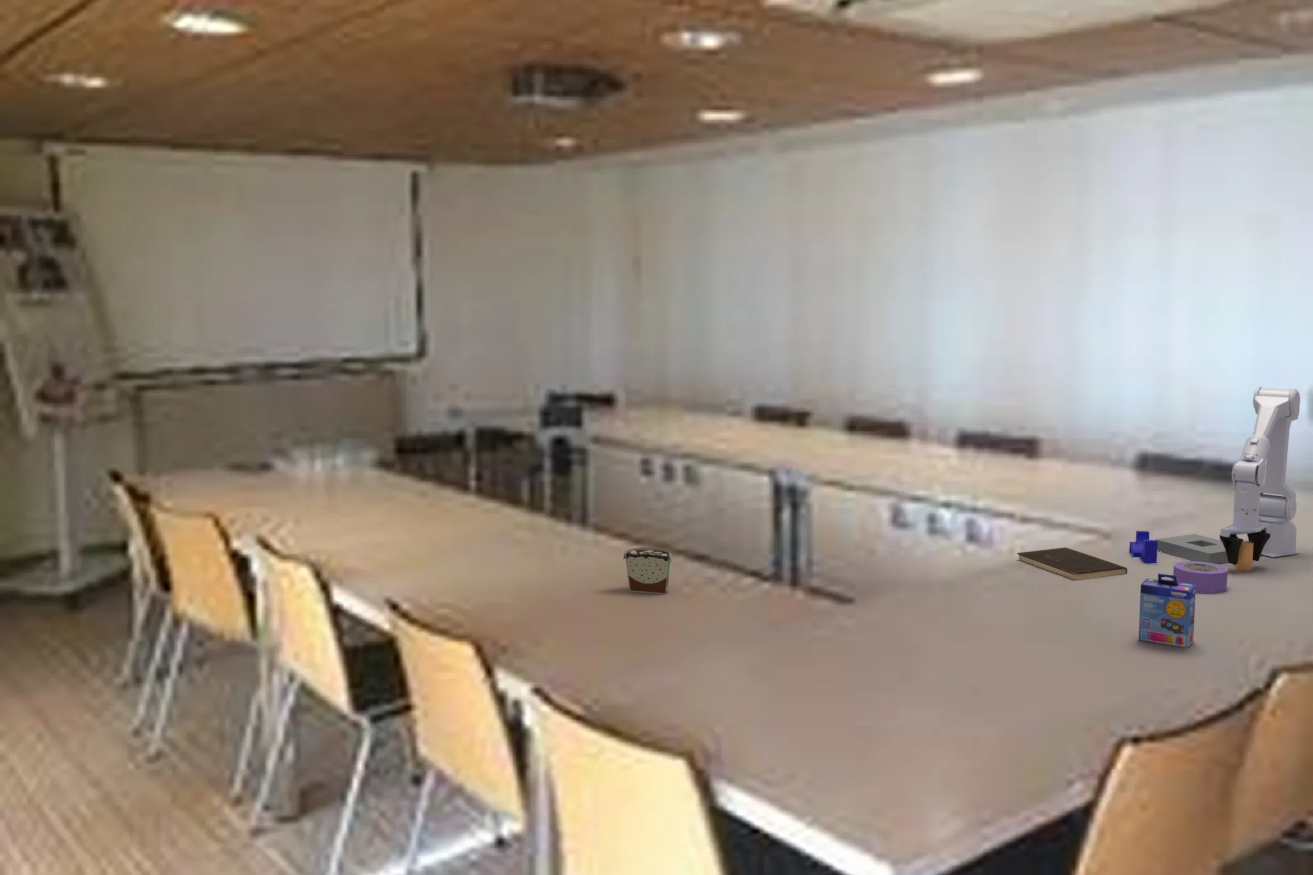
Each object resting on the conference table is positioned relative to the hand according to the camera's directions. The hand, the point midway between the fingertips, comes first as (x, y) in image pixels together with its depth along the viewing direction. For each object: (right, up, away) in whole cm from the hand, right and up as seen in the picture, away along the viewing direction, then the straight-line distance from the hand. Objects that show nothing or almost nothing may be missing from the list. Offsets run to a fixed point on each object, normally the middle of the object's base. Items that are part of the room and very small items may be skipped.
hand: (1243, 562), depth 306 cm
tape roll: (-18, -5, -15) cm, 23 cm away
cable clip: (-20, -1, +14) cm, 24 cm away
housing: (-3, 0, +16) cm, 16 cm away
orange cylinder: (0, -2, 0) cm, 2 cm away
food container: (-148, -6, -9) cm, 148 cm away
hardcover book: (-41, -3, +6) cm, 42 cm away
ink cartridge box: (-43, -11, -55) cm, 70 cm away
